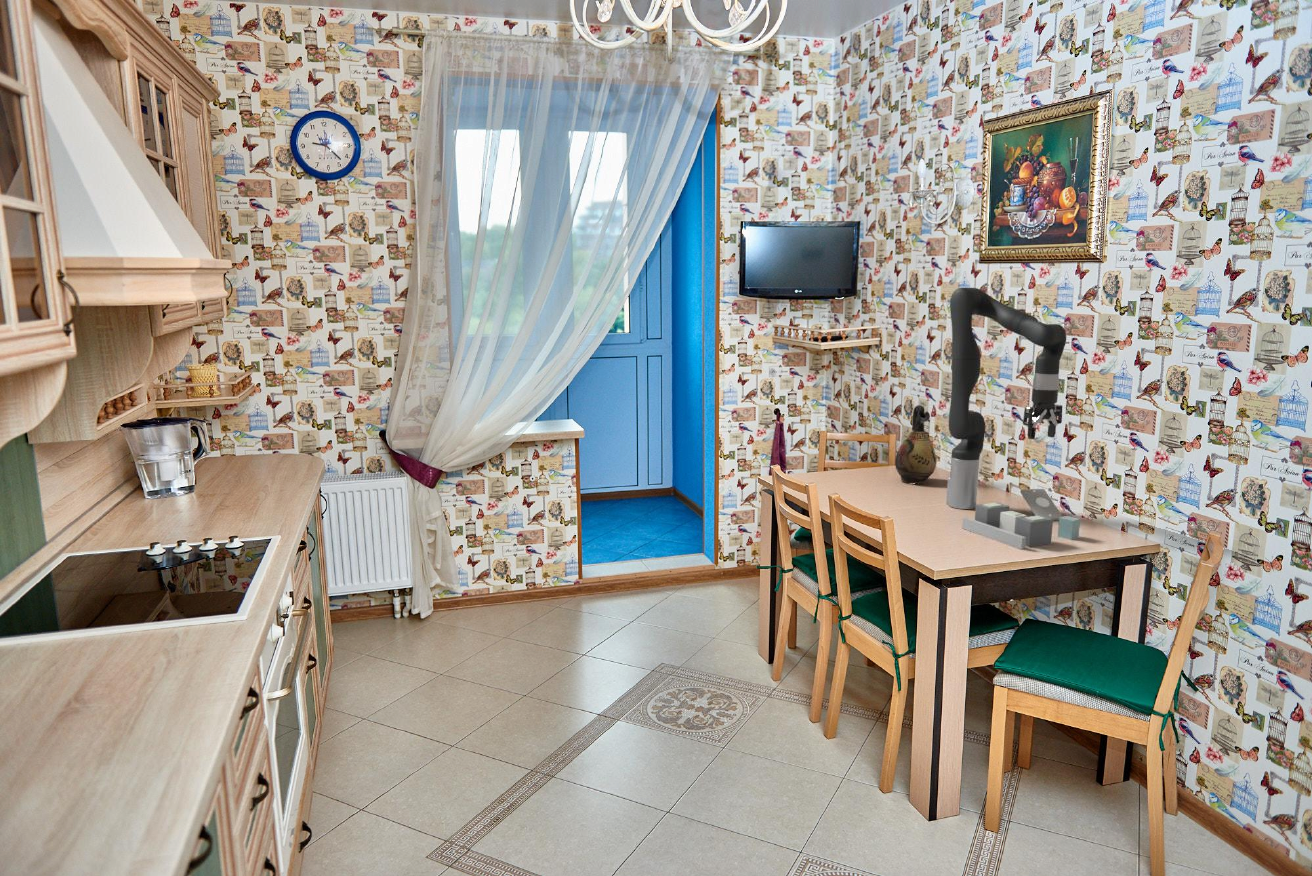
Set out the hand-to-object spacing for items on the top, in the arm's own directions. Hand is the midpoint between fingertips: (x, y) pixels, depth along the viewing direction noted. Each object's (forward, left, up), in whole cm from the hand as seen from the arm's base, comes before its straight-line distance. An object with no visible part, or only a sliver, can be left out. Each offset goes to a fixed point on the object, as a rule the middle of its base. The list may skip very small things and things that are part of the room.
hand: (1041, 438), depth 282 cm
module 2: (+16, -3, -28) cm, 33 cm away
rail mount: (+8, -20, -28) cm, 35 cm away
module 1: (+8, -18, -28) cm, 34 cm away
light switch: (-6, +10, -28) cm, 31 cm away
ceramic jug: (-64, +5, -28) cm, 70 cm away
